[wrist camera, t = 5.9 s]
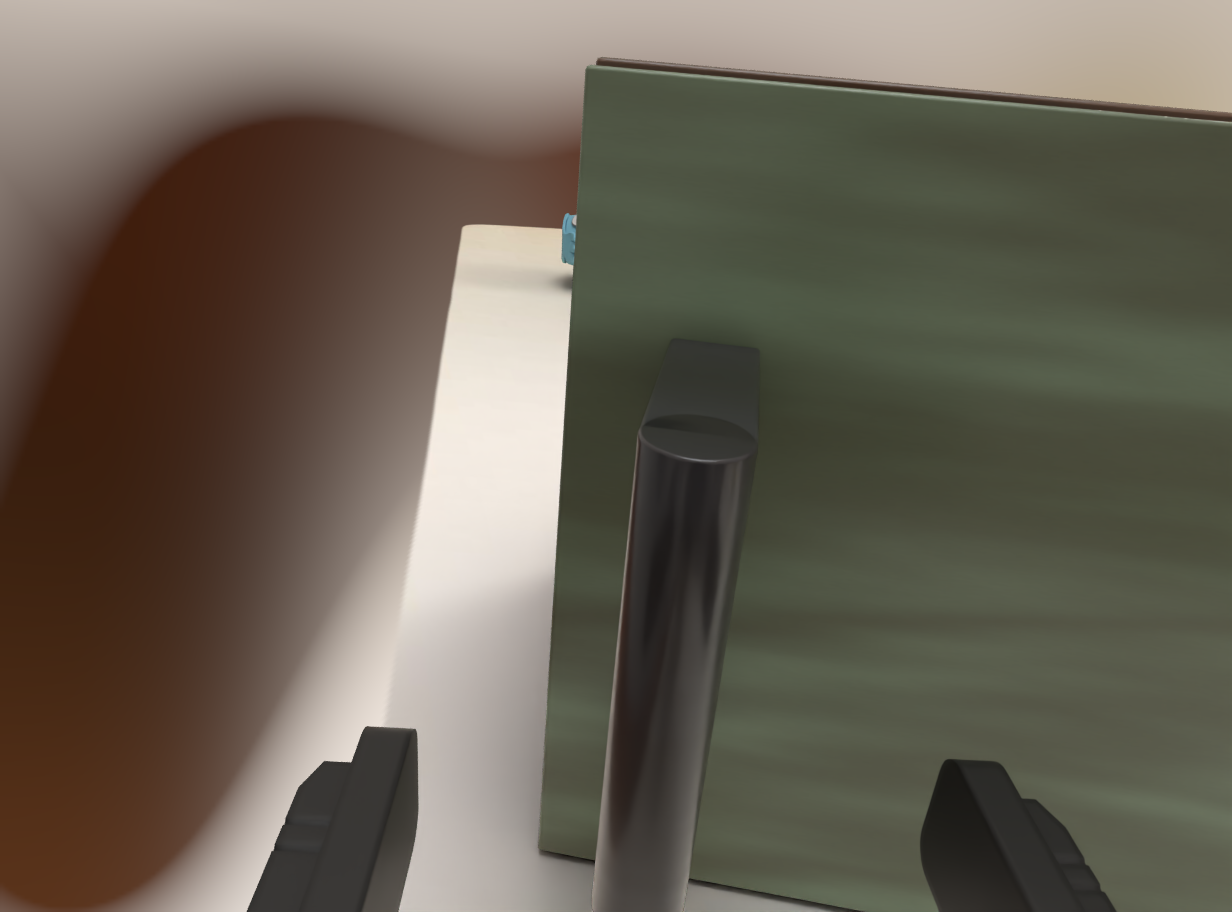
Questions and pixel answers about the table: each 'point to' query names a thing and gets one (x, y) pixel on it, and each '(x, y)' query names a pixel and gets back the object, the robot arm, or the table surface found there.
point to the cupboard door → (890, 489)
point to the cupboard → (918, 89)
